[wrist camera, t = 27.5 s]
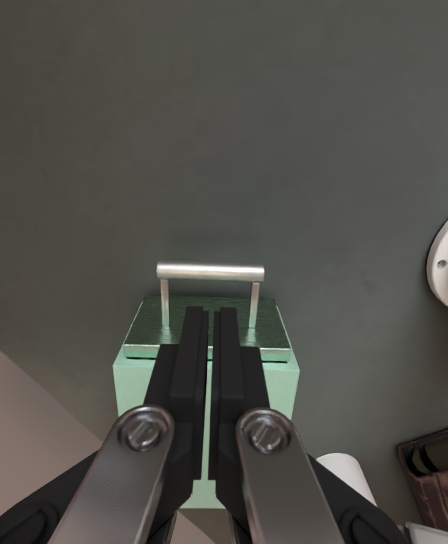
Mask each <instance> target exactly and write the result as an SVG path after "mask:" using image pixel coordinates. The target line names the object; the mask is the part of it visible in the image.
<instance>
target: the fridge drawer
mask: <svg viewBox="0 0 448 544" xmlns="http://www.w3.org/2000/svg"><path fill="white" fill-rule="evenodd" d="M264 272H265V271H264V264H252V263H224V262H197V261H170V260H158V262H157V267H156V274H157V278H158V279H160V284H161V295H146V296H145V298H144V300H143V302H142V305H141V307H140V309H139V311H138V313H137V316H136V318H135V320H134V322H133V325H132V327H131V329H130V331H129V333H128V336H127V338H126V340H125V342H124V344H123V347H124V356H125V357H128V358H140V360H156V357H157V353H158V350H159V347H160V345H161V344H179V343H180V338H181V333H182V328H183V323H184V318H185V313H186V308H187V306H203V311H209V329H208V360H212V352H213V327H214V311H220V307H234V308H236V309H237V320H238V331H239V342H240V346H253V347H259V348H260V353H261V358H262V363H275V361H283V362H289V360H290V354H291V348H290V345H289V342H288V339H287V336H286V333H285V330H284V327H283V324H282V321H281V318H280V315H279V312H278V309H277V306H276V304H275V301H274V299H258V298H259V288H260V282H263V280H264ZM169 279H184V280H213V281H242V282H251V293H250V298H223V297H192V296H170V289H169Z"/></svg>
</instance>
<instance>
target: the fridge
mask: <svg viewBox="0 0 448 544" xmlns="http://www.w3.org/2000/svg"><path fill="white" fill-rule="evenodd" d="M142 302H143V301H142ZM141 305H142V303H141ZM141 305H140V307H141ZM140 307H139V309H140ZM277 309H278V307H277ZM138 311H139V310H138ZM278 312H279V310H278ZM137 313H138V312H137ZM279 315H280V312H279ZM136 316H137V314H136ZM136 316H135V318H136ZM135 318H134V320H135ZM280 318H281V315H280ZM281 321H282V318H281ZM133 322H134V321H133ZM282 324H283V321H282ZM132 325H133V323H132ZM132 325H131V327H132ZM131 327H130V329H131ZM283 327H284V330H285V333H286V336H287V339H288V342H289V345H290V348H291V354H290V360H289V362H283V361H275V363H262V364H263V369H264V375H265V380H266V386H267V391H268V397H269V402H270V408H271V409H275V410H277V411H279V412H281V413H283V414H284V415H285V416H286V417H288V418H289V419H290V420H291V416H292V411H293V405H294V400H295V394H296V389H297V383H298V378H299V372H300V370H299V367H298V364H297V361H296V358H295V355H294V352H293V350H292V347H291V344H290V341H289V338H288V335H287V332H286V329H285V326H284V324H283ZM130 329H129V331H130ZM128 333H129V332H128ZM127 336H128V334H127ZM127 336H126V338H127ZM126 338H125V340H126ZM125 340H124V342H125ZM123 344H124V343H123ZM154 364H155V360H140V358H128V357H125V356H124V347H123V345H122V347H121V349H120V351H119V354H118V356H117V358H116V360H115V362H114V364H113V373H114V381H115V389H116V398H117V406H118V414H119V416H121V415H122V414H123V413H124V412H126V411H127V410H129V409H131V408H133V407H135V406H140V405H143V402H144V398H145V395H146V391H147V388H148V384H149V381H150V377H151V374H152V371H153V367H154ZM211 378H212V361H208V363H207V388H206V406H205V423H204V441H203V458H202V476H201V480H194V481H193V494H191V497H190V498H189V499H188V500H187V501H186V502H185V503H184V504H183V505H182V506H181V507H180V508H225V507H224V506H223V505H222V504H221V503H220V501H219V500H218V499H217V498H216V494H215V480H208V459H209V432H210V404H211Z"/></svg>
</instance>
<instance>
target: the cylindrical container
mask: <svg viewBox="0 0 448 544" xmlns="http://www.w3.org/2000/svg"><path fill="white" fill-rule="evenodd" d="M315 460H317V461H318V462H319V463H320V464H322V465H323V466H324V467H326V468H327V469H328V470H330V471H331V472H332V473H333V474H335V475H336V476H337V477H339V478H340V479H341V480H343V481H344V482H345V483H347V484H348V485H349V486H350V487H352V488H353V489H354V490H356V491H357V492H358V493H360V494H361V495H362V496H364V497H365V498H366V499H367V500H369V501H370V502H371V503H373V504H374V505H375V506H377V505H376V503H375V500H374V498H373V496H372V493H371V491H370V489H369V486H368V484H367V481H366V479H365V477H364V474H363V472H362V470H361V467H360V465H359V463H358V461H357V460H356V459H355V458H354V457H352V456H350V455H347V454H343V453H331V454H326V455H323V456H321V457H319V458H317V459H315Z"/></svg>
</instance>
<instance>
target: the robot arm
mask: <svg viewBox="0 0 448 544" xmlns="http://www.w3.org/2000/svg"><path fill="white" fill-rule="evenodd" d="M426 271H427V279H428V283H429V285H430V288H431V290H432V292H433V293H434V294H435V296H436V297H437V298H438V299H439V300H440V301H441V302H443V303H444V304H445V305H446V306H448V221H447V222H446V223H445V224H444V226H443V227H442V229H441V230H440V232H439V233H438V234H437V236H436V238H435V240H434V242H433V244H432V246H431V249H430V252H429V256H428V259H427V270H426ZM208 329H209V311H203V306H187V308H186V313H185V318H184V323H183V328H182V333H181V338H180V343H179V344H161V345H160V347H159V350H158V353H157V357H156V360H155V364H154V367H153V371H152V374H151V377H150V381H149V384H148V388H147V391H146V395H145V398H144V402H143V405H140V406H135V407H133V408H131V409H129V410H127V411H126V412H124V413H123V414H122V415H121V416H119V418H118V419H117V420H116V422H115V423H114V424H113V426H112V428H111V430H110V432H109V433H108V435H107V437H106V439H105V441H104V443H103V444H102V446H101V448H100V449H99V450H98V451H96V452H94V453H93V454H91V455H90V456H88V457H87V458H85V459H84V460H82V461H81V462H79V463H78V464H76V465H75V466H73V467H72V468H70V469H69V470H67V471H66V472H64V473H63V474H61V475H60V476H58V477H56V478H55V479H53V480H52V481H51V482H49V483H47V484H46V485H44V486H43V487H41V488H40V489H38V490H37V491H35V492H34V493H32V494H31V495H29V496H28V497H26V498H25V499H23V500H22V501H20V502H18V503H17V504H16V505H14V506H13V507H11V508H10V509H9V510H8V511H6V512H5V513H4V514H3V515H1V516H0V544H170V542H171V538H172V534H173V530H174V525H175V522H176V516H177V510H178V509H179V508H180V507H181V506H182V505H183V504H184V503H185V502H186V501H187V500H188V499H189V498H190V497H191V494H193V481H194V480H201V476H202V458H203V441H204V423H205V406H206V388H207V363H208ZM208 480H215V494H216V498H217V499H218V500H219V501H220V503H221V504H222V505H223V506H224V507H225V508H226V509H227V510H228V511H229V525H230V531H231V538H232V544H448V532H445V531H441V530H438V529H434V528H430V527H426V526H423V525H419V524H415V523H411V522H408V521H407V522H406V524H405V526H402V525H399V524H396V523H395V522H394V521H393V520H392V519H391V518H390V517H389V516H387V515H386V514H385V513H384V512H383V511H382V510H380V509H379V508H378V507H377V506H375V505H374V504H373V503H371V502H370V501H369V500H367V499H366V498H365V497H364V496H362V495H361V494H360V493H358V492H357V491H356V490H354V489H353V488H352V487H350V486H349V485H348V484H347V483H345V482H344V481H343V480H341V479H340V478H339V477H337V476H336V475H335V474H333V473H332V472H331V471H330V470H328V469H327V468H326V467H324V466H323V465H322V464H320V463H319V462H318V461H317V460H315V459H314V458H313V457H311V456H310V455H309V454H307V453H306V451H305V449H304V447H303V444H302V442H301V440H300V437H299V435H298V433H297V430H296V428H295V426H294V425H293V423H292V422H291V420H290V419H289V418H288V417H286V416H285V415H284V414H283V413H281V412H279V411H277V410H275V409H271V408H270V402H269V397H268V391H267V386H266V380H265V375H264V369H263V364H262V358H261V353H260V348H259V347H253V346H240V342H239V331H238V320H237V309H236V308H234V307H220V311H214V327H213V352H212V378H211V404H210V432H209V459H208Z"/></svg>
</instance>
